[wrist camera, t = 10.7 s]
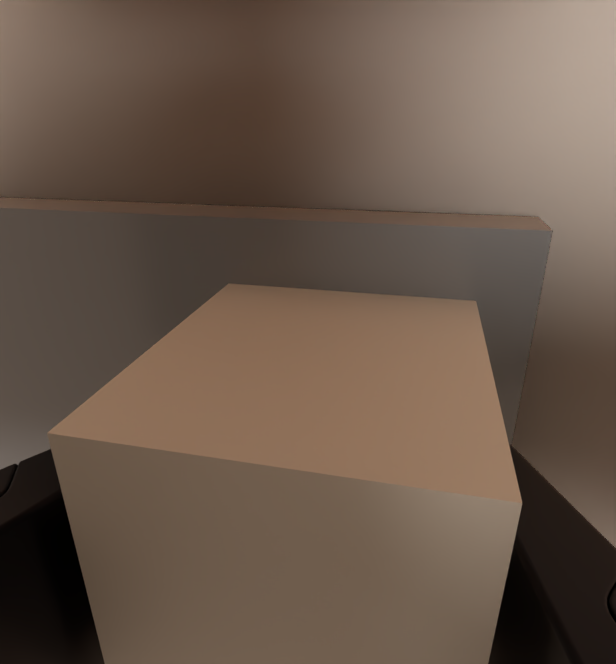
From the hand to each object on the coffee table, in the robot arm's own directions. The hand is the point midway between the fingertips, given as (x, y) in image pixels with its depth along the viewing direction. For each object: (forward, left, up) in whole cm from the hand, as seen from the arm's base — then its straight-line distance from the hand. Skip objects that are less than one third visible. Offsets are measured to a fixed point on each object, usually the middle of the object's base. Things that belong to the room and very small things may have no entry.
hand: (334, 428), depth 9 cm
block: (0, 0, -1) cm, 1 cm away
